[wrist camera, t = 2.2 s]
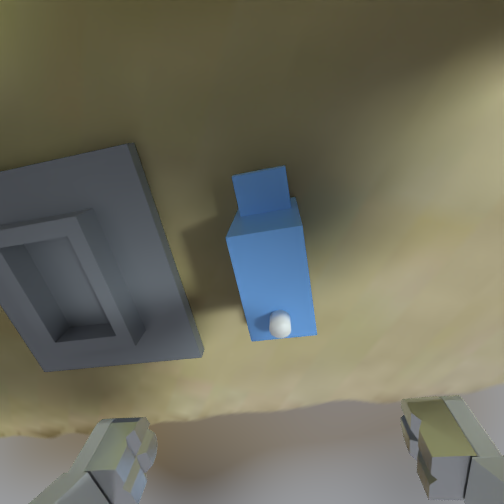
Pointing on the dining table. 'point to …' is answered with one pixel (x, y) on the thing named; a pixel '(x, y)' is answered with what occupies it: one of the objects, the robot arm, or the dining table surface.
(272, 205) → the servo block
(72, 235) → the plate
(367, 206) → the dining table surface
